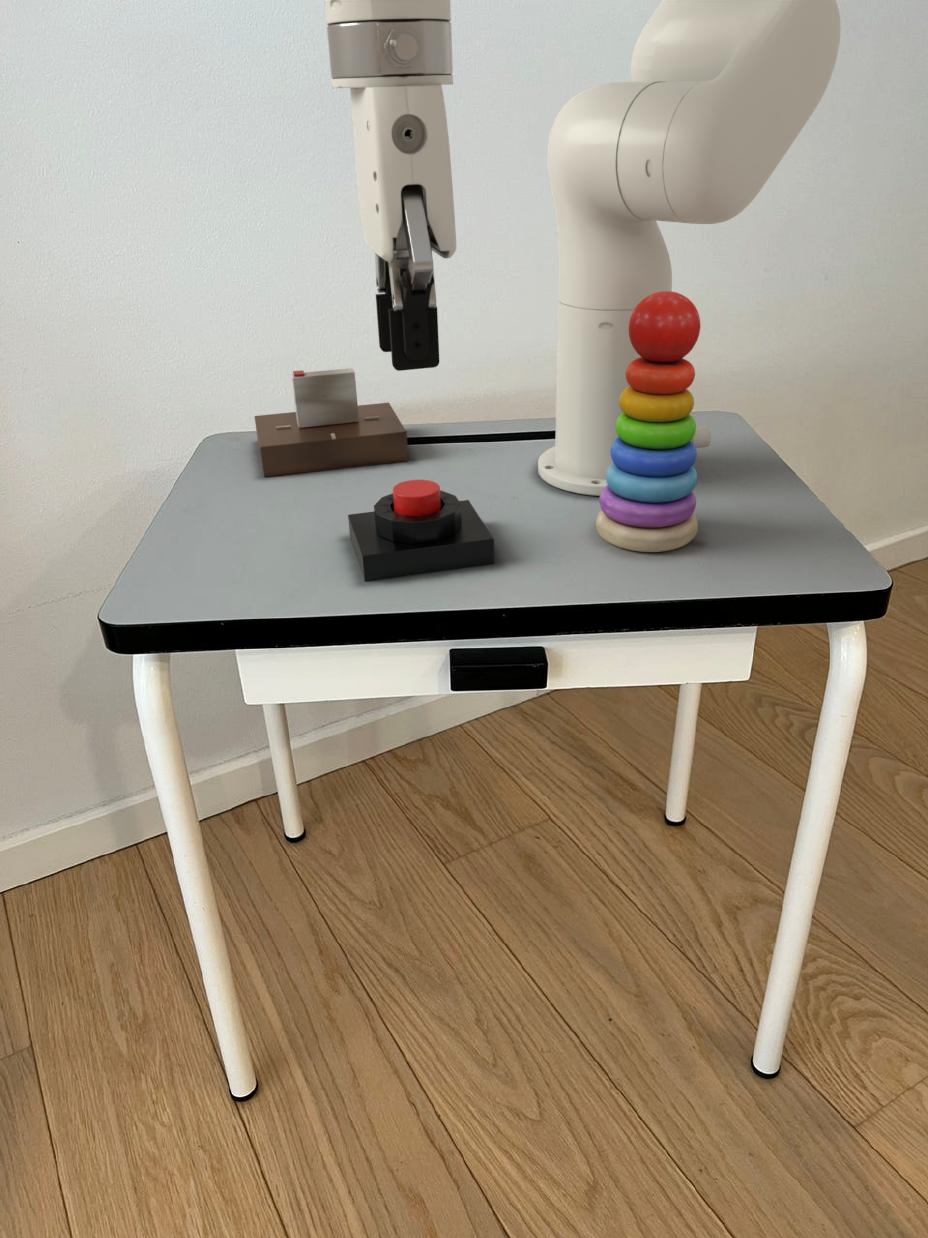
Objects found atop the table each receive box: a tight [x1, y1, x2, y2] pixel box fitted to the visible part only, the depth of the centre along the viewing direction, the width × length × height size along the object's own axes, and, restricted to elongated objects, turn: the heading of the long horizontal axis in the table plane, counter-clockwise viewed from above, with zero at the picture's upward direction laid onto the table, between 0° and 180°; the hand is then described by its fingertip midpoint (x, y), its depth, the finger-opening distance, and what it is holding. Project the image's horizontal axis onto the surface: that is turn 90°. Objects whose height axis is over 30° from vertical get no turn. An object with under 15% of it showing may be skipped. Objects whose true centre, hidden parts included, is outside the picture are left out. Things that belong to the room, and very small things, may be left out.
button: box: [392, 479, 441, 516], centre depth 72 cm, size 4×4×2 cm
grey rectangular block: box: [290, 367, 359, 428], centre depth 93 cm, size 6×2×5 cm, turn 104°
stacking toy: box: [595, 291, 701, 553], centre depth 71 cm, size 8×8×19 cm
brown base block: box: [254, 402, 409, 478], centre depth 95 cm, size 14×10×3 cm
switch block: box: [347, 489, 495, 583], centre depth 74 cm, size 10×8×4 cm
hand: (408, 355), depth 67 cm, fingers open, 4 cm apart
